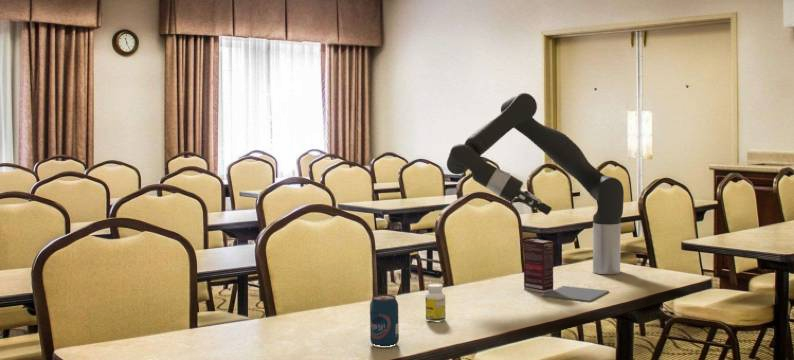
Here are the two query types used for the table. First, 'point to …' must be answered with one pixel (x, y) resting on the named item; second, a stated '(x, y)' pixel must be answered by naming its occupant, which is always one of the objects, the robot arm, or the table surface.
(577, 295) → the mat
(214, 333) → the table surface
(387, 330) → the soda can
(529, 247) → the supplement box
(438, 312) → the supplement bottle
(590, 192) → the robot arm
